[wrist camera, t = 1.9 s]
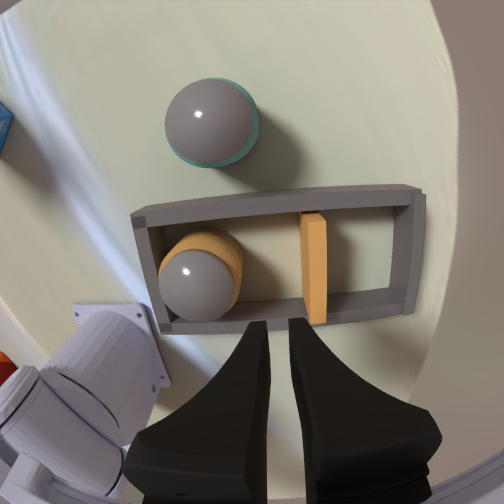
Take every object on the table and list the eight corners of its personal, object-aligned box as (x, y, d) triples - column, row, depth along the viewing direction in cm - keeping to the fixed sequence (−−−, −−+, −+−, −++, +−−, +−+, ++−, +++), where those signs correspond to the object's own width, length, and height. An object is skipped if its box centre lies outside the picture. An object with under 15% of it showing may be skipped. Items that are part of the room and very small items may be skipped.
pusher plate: (315, 292, 20) (325, 322, 17) (302, 294, 20) (310, 324, 17) (313, 207, 18) (325, 220, 14) (298, 208, 18) (307, 222, 14)
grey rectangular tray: (397, 296, 20) (412, 316, 17) (170, 316, 22) (159, 338, 19) (404, 184, 17) (426, 190, 14) (145, 206, 19) (126, 215, 16)
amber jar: (247, 289, 21) (243, 324, 16) (182, 293, 21) (165, 327, 17) (239, 223, 19) (232, 244, 15) (169, 230, 19) (145, 252, 15)
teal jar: (263, 160, 17) (263, 162, 13) (188, 170, 18) (165, 175, 14) (255, 87, 16) (252, 67, 11) (180, 99, 16) (156, 85, 12)
